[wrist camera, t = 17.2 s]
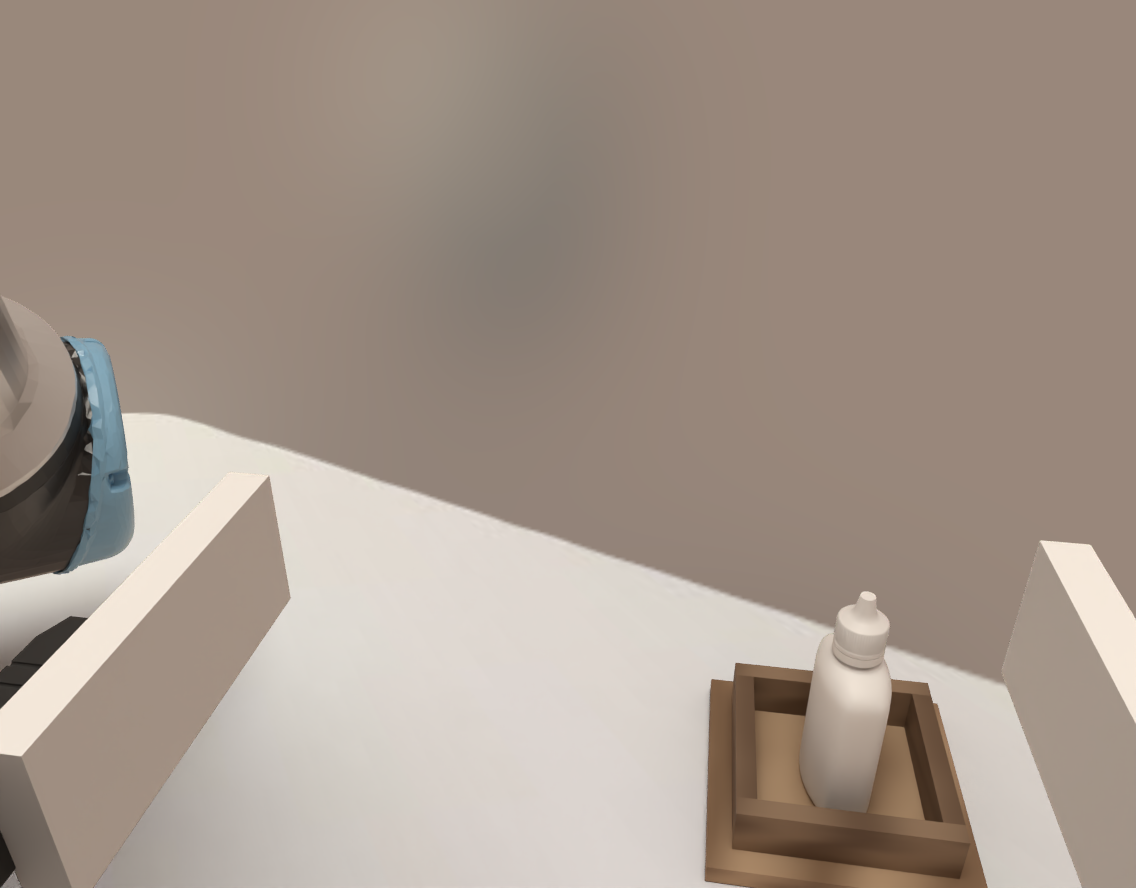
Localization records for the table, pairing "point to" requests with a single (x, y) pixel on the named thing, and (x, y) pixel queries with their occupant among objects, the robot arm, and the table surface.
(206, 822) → the table surface
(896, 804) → the square wooden tray stand
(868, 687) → the eye dropper bottle
